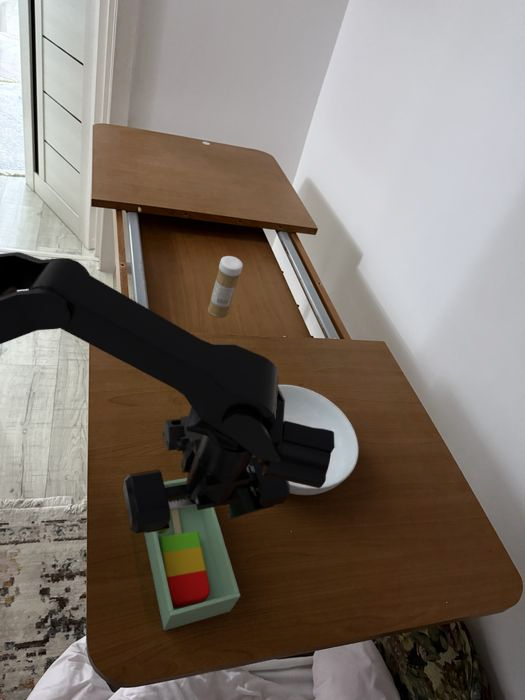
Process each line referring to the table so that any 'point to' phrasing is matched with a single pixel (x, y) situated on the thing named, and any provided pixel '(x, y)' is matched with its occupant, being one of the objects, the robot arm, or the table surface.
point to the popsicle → (184, 566)
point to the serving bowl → (324, 415)
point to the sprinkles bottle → (225, 286)
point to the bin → (215, 561)
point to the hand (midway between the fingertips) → (196, 522)
